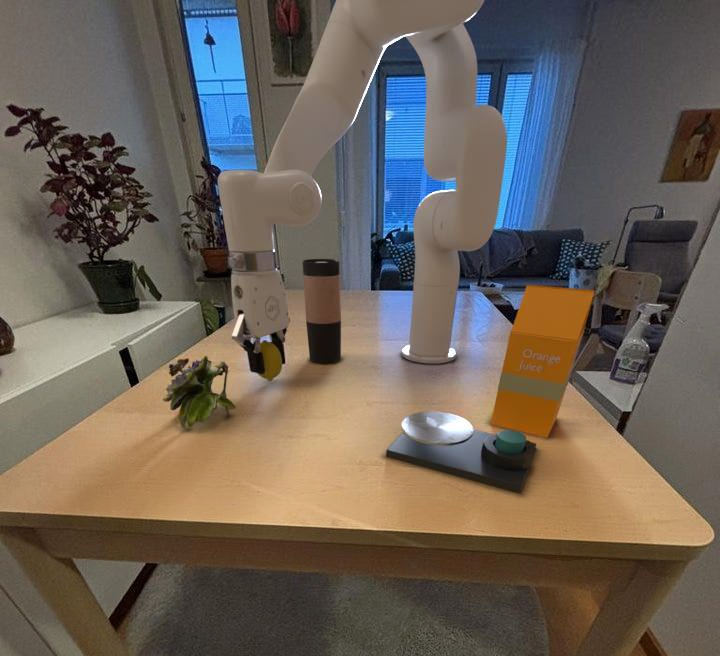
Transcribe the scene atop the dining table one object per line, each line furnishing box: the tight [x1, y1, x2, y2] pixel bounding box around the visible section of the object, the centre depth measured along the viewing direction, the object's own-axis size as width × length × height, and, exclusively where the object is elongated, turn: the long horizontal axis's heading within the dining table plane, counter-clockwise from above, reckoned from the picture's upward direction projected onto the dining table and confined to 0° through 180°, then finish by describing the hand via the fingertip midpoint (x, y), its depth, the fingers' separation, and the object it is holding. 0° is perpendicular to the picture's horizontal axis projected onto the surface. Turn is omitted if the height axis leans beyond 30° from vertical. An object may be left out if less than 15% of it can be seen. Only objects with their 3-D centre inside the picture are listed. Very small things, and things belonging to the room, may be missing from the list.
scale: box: [385, 429, 537, 494], centre depth 55 cm, size 12×18×3 cm, turn 62°
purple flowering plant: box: [162, 355, 237, 431], centre depth 64 cm, size 11×11×12 cm
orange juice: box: [490, 284, 596, 438], centre depth 59 cm, size 8×9×20 cm
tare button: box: [495, 429, 527, 454], centre depth 51 cm, size 4×4×2 cm
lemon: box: [257, 339, 283, 382], centre depth 76 cm, size 6×6×8 cm
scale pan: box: [401, 410, 475, 446], centre depth 55 cm, size 10×10×1 cm
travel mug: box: [302, 258, 342, 365], centre depth 85 cm, size 8×8×20 cm
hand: (268, 366), depth 77 cm, fingers closed on lemon, 5 cm apart
